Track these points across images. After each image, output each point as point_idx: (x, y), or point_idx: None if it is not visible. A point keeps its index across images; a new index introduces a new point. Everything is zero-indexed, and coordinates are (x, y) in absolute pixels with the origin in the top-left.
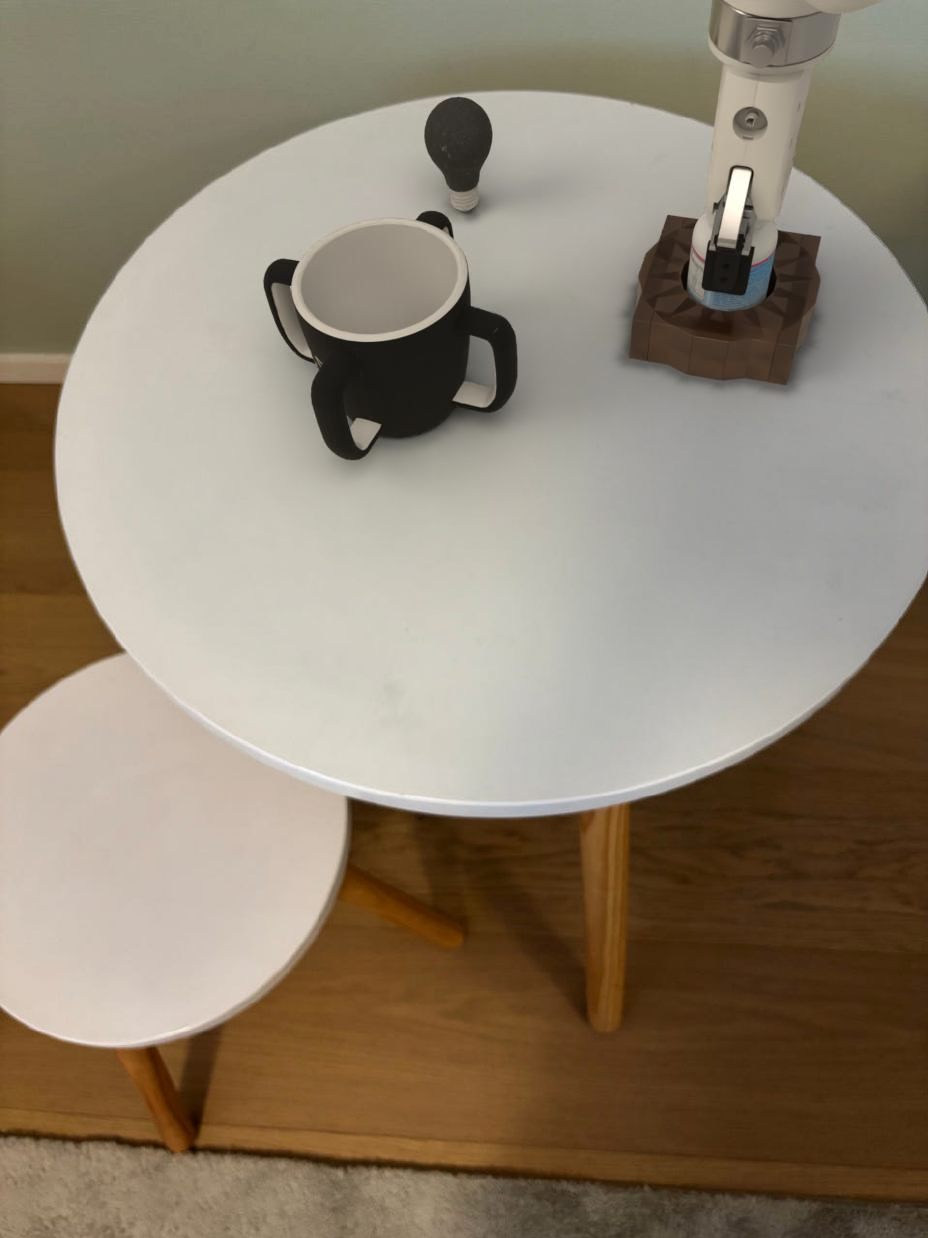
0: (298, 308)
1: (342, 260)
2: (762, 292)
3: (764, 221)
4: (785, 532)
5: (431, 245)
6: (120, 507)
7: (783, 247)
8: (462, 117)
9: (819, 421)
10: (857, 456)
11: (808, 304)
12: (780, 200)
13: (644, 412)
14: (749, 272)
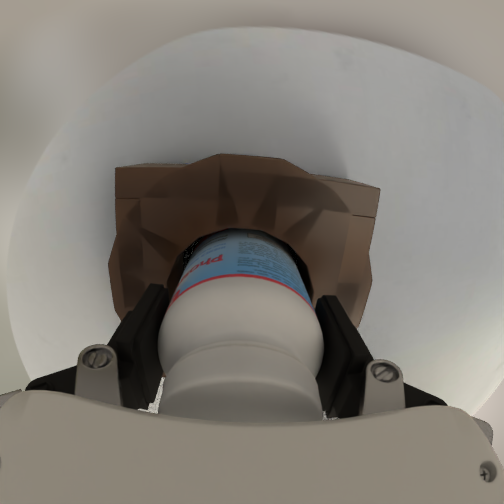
0: None
1: None
2: (274, 250)
3: (295, 365)
4: (488, 186)
5: None
6: None
7: (152, 224)
8: None
9: (394, 142)
10: (427, 110)
11: (288, 170)
12: (485, 450)
13: (383, 318)
14: (350, 321)
